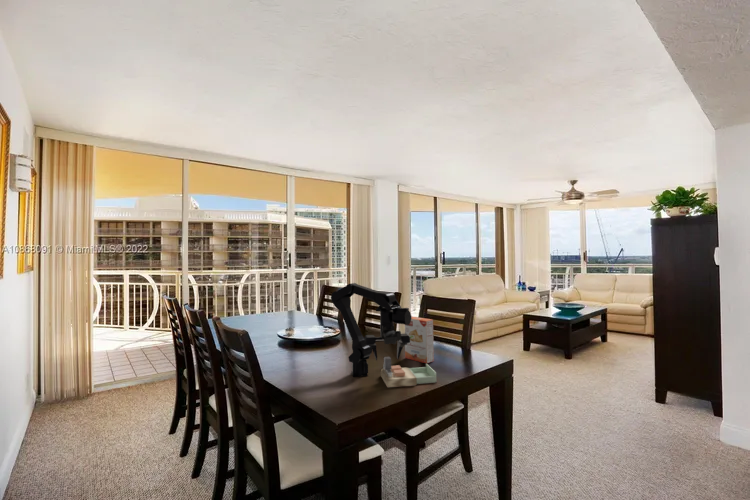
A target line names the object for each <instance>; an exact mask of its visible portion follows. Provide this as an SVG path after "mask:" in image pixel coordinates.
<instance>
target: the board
mask: <svg viewBox="0 0 750 500" xmlns="http://www.w3.org/2000/svg"><path fill="white" fill-rule="evenodd" d="M401 368H402V369H403V371H404V372H405V376H399V377H395V375H394V374H393V372H392V371H391V372H392V377H390V378H388V376H387V374H386V373H385V371H384V369H383V368H382V369H380V376H381V378H382V380H383V382H384V384H385V385H386V387H387V388H397V387H411V386H417V384H416V377H415V376H414V374H413V373H412V372H411V371H410V370H409V368H410V367H401ZM390 370H391V369H390Z"/></svg>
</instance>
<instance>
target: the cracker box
mask: <svg viewBox="0 0 750 500" xmlns="http://www.w3.org/2000/svg"><path fill="white" fill-rule="evenodd" d="M404 334H407V335H408V336H409V337H410V343H407V345H404V352H405V353H404V354H405V355H404V359H408V360H412V361H416V362H419V363H422V364H423V363H424V364H425V365H426V364H429V363H433V362H434V360H435V359H434V356H435V355H434V353H435V351H434V320H433V319H432V318H431V319H430V318H425V317H418V316H412V315H411V322H410V324H409V325H405V324H404Z"/></svg>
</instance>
